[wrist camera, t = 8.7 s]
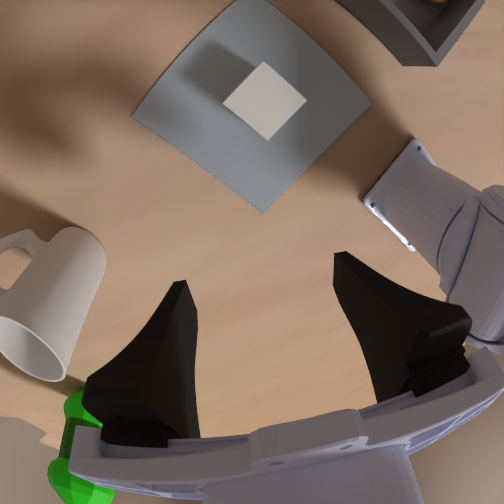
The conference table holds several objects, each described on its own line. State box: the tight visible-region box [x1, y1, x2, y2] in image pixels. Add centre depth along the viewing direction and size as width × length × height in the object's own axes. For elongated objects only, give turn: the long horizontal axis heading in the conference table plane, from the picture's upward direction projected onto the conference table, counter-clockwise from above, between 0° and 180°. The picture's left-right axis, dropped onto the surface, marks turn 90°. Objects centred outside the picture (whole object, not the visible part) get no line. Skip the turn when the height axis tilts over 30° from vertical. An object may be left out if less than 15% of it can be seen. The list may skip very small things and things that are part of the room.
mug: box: [0, 227, 107, 382], centre depth 17 cm, size 10×7×12 cm, turn 32°
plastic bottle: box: [47, 390, 114, 504], centre depth 26 cm, size 10×10×25 cm
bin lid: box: [131, 0, 372, 214], centre depth 16 cm, size 13×13×5 cm
